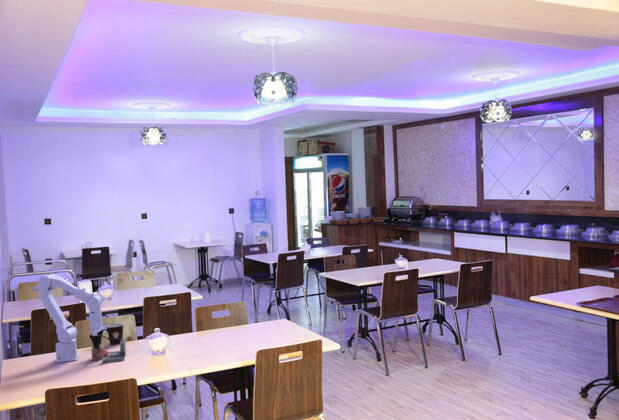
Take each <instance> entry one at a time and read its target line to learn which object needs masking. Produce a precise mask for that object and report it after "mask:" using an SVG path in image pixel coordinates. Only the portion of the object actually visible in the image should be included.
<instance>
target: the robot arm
mask: <svg viewBox="0 0 619 420" xmlns="http://www.w3.org/2000/svg"><path fill="white" fill-rule="evenodd" d="M36 286H37V287H38V297H39V299H40V301H41V302H42V305H43V306H44V308H45V309H46V311H47V313H48V315H49V316H50V318H51V320H52V321H53V324H54V325H55V326H56V328H55V329H56V330H55V333H56V334H57V340H58V342H56V343H55V357H56V360H55V361H56V362H55V363H64V362H65V363H66V362H73V361H75V362H76V361H78V359H79V357H80V355H79V354H78V349H77V337H78V335H79V331H78V329H77V328H76V327H75V326H74V325H73V324H72V323H71V322H69V320H67V318H66V316H65V314H64V313H63V312H62V309H61V308H60V307H59V305H58V303H57V301H56V299H55V297H54V296H53V292H54V289H55V288H61V289H63V290H65V291H67V292H68V293H71V294H73V296H74V298H75V299H77V300H78V301H80V302H82V303H83V304H85V305H86V306H87V308H88V315H89V317H88V318H89V332H91V333H92V334H89V338H90V340H91V343H92V347H93V346H94V349H99V345H102V338H103V336H102V335H103V334H104V331H105V330H104V329H106V326H105V327H104V326H103V316H102V315H103V314H102V304H103V297H102V296H101V295H100V294H97V293H94V292H91V291H88V290H87V288H86V287H79V288H78V287H77V286H75V285H74V284H72V283H71V282H69V281H67V280H66V279H64V278H63V277H62V276H60V275H58V274H56V273H52V272H51V273H49V274H47V275H42V276H40V277H39V279H38V280H37V283H36Z"/></svg>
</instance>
